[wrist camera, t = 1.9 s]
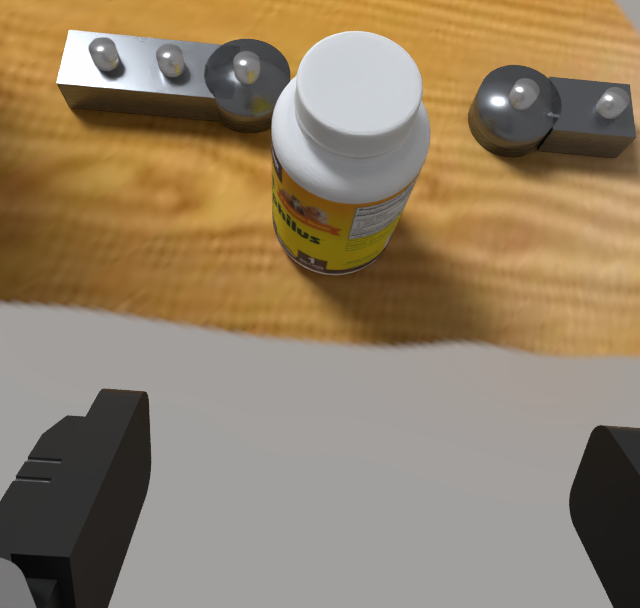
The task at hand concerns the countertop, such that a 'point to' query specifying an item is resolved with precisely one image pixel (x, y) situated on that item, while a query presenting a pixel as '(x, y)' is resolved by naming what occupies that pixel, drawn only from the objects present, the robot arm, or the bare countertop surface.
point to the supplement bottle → (346, 151)
